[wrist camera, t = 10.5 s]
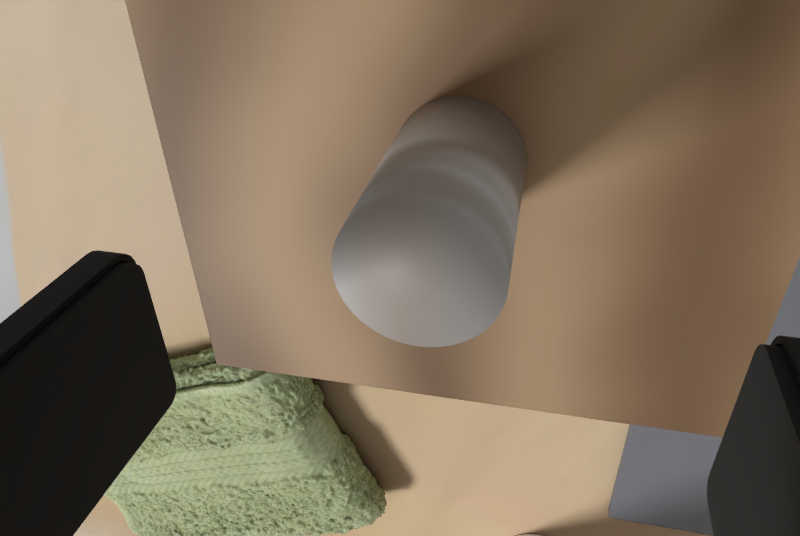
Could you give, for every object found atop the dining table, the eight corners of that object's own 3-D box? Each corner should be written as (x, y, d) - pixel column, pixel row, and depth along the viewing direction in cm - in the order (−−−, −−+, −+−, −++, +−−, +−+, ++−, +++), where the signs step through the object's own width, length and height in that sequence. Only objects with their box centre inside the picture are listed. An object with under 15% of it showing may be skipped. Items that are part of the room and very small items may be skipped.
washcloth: (40, 374, 36) (-2, 415, 34) (294, 314, 29) (266, 360, 27) (167, 518, 42) (140, 563, 39) (405, 497, 35) (391, 550, 32)
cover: (990, -300, 10) (1367, -423, 5) (723, 417, 19) (773, 610, 14) (88, -241, 13) (-185, -285, 8) (227, 348, 22) (133, 487, 17)
